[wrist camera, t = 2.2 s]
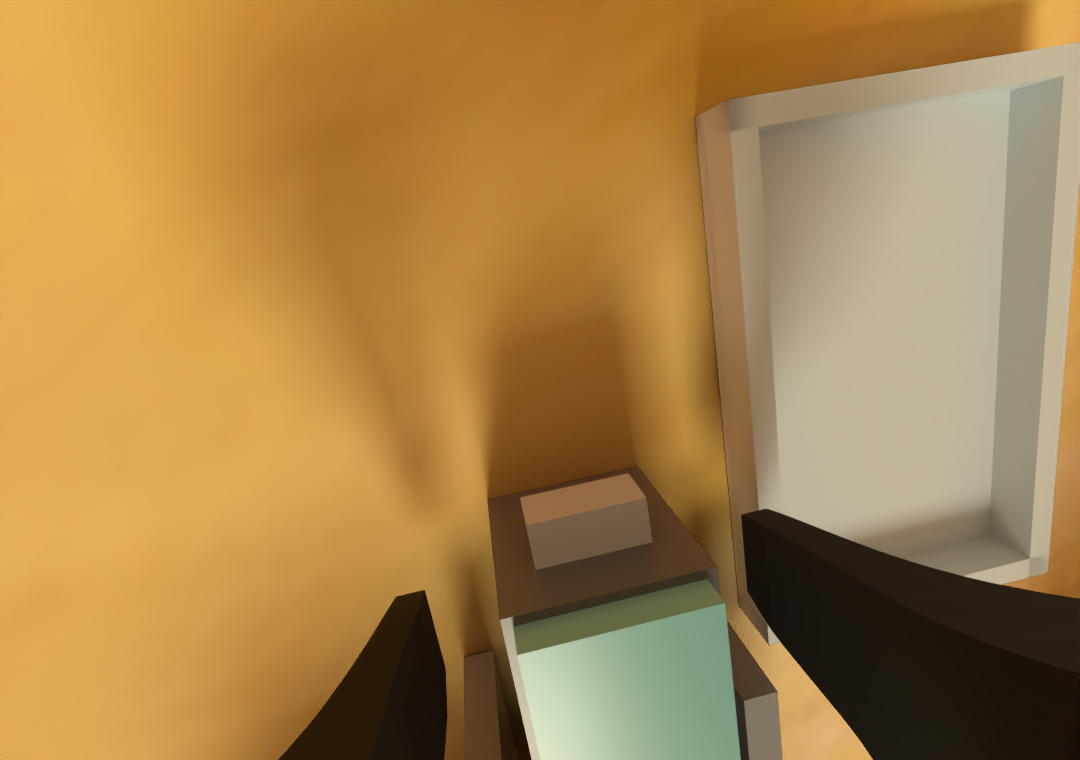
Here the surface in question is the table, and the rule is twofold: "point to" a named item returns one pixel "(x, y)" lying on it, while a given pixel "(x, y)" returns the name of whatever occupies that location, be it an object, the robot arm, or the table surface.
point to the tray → (898, 306)
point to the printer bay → (493, 739)
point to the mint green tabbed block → (612, 624)
